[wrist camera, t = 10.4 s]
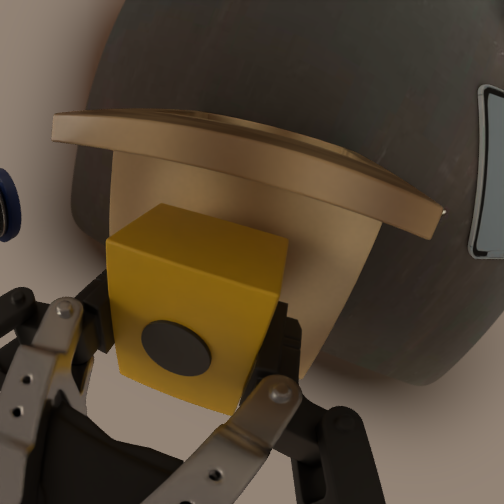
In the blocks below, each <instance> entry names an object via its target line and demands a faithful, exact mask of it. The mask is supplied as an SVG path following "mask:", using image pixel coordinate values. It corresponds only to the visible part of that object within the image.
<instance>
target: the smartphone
mask: <svg viewBox="0 0 504 504" xmlns="http://www.w3.org/2000/svg"><path fill="white" fill-rule="evenodd" d="M478 104H479V167H478V181H477V191H476V199H475V207H474V214H473V220H472V226H471V232H470V237H469V242H468V252H469V254H470V255H471V256H472V257H474V258H475V259H504V90H502V89H499V88H497V87H494V86H491V85H481V86H480V87H479V89H478Z"/></svg>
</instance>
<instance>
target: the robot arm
mask: <svg viewBox="0 0 504 504" xmlns="http://www.w3.org/2000/svg"><path fill="white" fill-rule="evenodd" d="M7 229H8V211H7V205H6V201H5V198H4V195H3V193H2V190H1V188H0V237H1V236H3V235H5V234H6V232H7ZM287 311H288V303H285V302H281V301H278V304H277V306H276V309H275V312H274V314H273V317H272V320H271V322H270V325H269V328H268V330H267V333H266V336H265V338H264V341H263V343H262V346H261V348H260V350H259V352H258V354H257V357H256V359H255V362H254V364H253V367H252V369H251V372H250V374H249V377H248V379H247V382H246V384H245V387H244V389H243V392H242V396H241V400H240V404H239V406H240V407H239V408H238V409H237V410H236V412H235V413H234V414H233V415H232V416H231V417H230V419H229V420H228V421H227V422H226V423H225V424H221V425H220V426H219V427H218V428H216V429H215V430H214V432H213V433H212V434H211V435H210V436H209V437H208V438H207V439H206V440H205V441H204V442H203V444H201V446H200V447H199V448H198V449H197V450H196V451H195V452H194V453H193V454H192V455H191V456H190V457H189V458H188V459H187V460H186V461H185V462H183V460H180V459H177V458H175V457H172V456H169V455H167V454H164V453H161V452H159V451H156V450H154V449H151V448H148V447H143V446H138V445H133V444H129V443H124V442H120V441H116V440H114V439H112V438H111V437H110V436H108V435H107V434H106V433H105V432H104V431H103V430H101V429H100V428H99V427H98V426H97V425H96V424H95V423H94V422H93V421H92V420H91V419H90V418H88V417H87V408H86V395H87V390H88V385H89V381H90V376H91V372H92V367H93V364H94V356H93V355H94V353H95V352H96V351H97V349H98V350H100V351H102V352H104V353H106V354H107V353H108V351H109V350H110V349H111V347H112V346H113V345H114V343H115V340H114V333H113V326H112V318H111V309H110V299H109V292H108V279H107V269H105V270H104V271H103V272H102V274H100V275H99V276H98V277H96V279H95V280H93V281H92V282H91V283H90V284H89V285H87V287H85V288H84V289H83V290H82V291H81V292H80V293H79V294H78V295H77V296H76V297H75V298H72V297H62V298H58V299H56V300H54V301H53V302H52V303H51V304H46V303H42V302H37V301H35V297H34V294H33V292H32V290H30V289H29V288H26V287H18V288H15V289H13V290H11V291H9V292H7V293H6V294H4V295H2V296H1V297H0V338H1V337H3V336H4V335H6V334H7V333H9V332H10V331H12V330H13V329H14V331H15V334H16V336H17V337H16V338H15V339H14V340H12V341H11V342H9V343H8V344H6V345H5V346H3V347H2V348H1V349H0V391H1V392H0V504H233V503H234V502H235V501H236V500H237V498H238V497H239V496H240V495H241V493H242V492H243V490H245V488H246V487H247V486H248V484H249V483H250V482H251V480H252V479H253V478H254V476H255V475H256V474H257V472H258V471H259V469H260V468H261V467H262V465H263V464H264V462H265V461H266V459H267V458H268V456H269V454H270V451H271V450H272V448H273V449H275V450H277V451H278V452H280V453H282V454H284V455H286V456H288V457H290V458H291V463H292V471H293V478H294V486H295V493H296V501H297V504H386V503H385V499H384V495H383V491H382V487H381V483H380V480H379V476H378V472H377V469H376V465H375V462H374V458H373V454H372V451H371V447H370V444H369V441H368V437H367V434H366V431H365V428H364V424H363V421H362V419H361V417H360V416H359V415H358V414H357V413H356V412H355V411H354V410H352V409H350V408H348V407H344V406H336V407H332V408H331V409H329V410H326V409H324V408H322V407H320V406H318V405H316V404H314V403H312V402H311V401H309V400H308V399H307V398H306V397H305V396H304V395H303V394H302V391H301V388H300V387H299V383H298V380H299V368H300V354H301V350H300V349H301V340H302V328H301V326H300V324H299V322H298V319H294V318H290V317H287Z"/></svg>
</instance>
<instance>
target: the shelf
mask: <svg viewBox="0 0 504 504" xmlns="http://www.w3.org/2000/svg"><path fill="white" fill-rule="evenodd" d="M51 140H52V141H53V142H60V143H68V144H75V145H82V146H89V147H96V148H102V149H108V150H114V153H113V164H112V176H111V193H110V236H112V235H113V234H115V233H116V232H118V231H119V230H121V229H122V228H123V227H125V226H126V225H128V224H129V223H131V222H132V221H134V220H135V219H137V218H138V217H140V216H141V215H143V214H144V213H146V212H148V211H149V210H151V209H152V208H154V207H155V206H157V205H158V204H160V203H164V204H168V205H172V206H175V207H179V208H183V209H186V210H190V211H194V212H197V213H201V214H204V215H208V216H212V217H215V218H219V219H222V220H226V221H229V222H233V223H236V224H240V225H243V226H247V227H250V228H253V229H257V230H260V231H264V232H267V233H271V234H274V235H277V236H281V237H284V238H287V239H289V244H288V250H287V257H286V263H285V270H284V276H283V282H282V288H281V294H280V298H279V301H281V302H285V303H288V311H287V317H290V318H294V319H298V322H299V324H300V326H301V328H302V340H301V349H300V350H301V354H300V368H299V379H303V377H304V376H305V374H306V373H307V371H308V369H309V368H310V366H311V364H312V363H313V361H314V359H315V358H316V356H317V354H318V353H319V351H320V349H321V347H322V346H323V344H324V342H325V340H326V339H327V337H328V335H329V333H330V331H331V330H332V328H333V326H334V324H335V322H336V320H337V319H338V317H339V315H340V313H341V311H342V309H343V307H344V305H345V303H346V301H347V299H348V297H349V295H350V293H351V291H352V289H353V287H354V285H355V283H356V281H357V279H358V277H359V275H360V273H361V271H362V268H363V266H364V264H365V262H366V260H367V258H368V255H369V253H370V251H371V249H372V246H373V244H374V242H375V239H376V237H377V235H378V232H379V230H380V227H381V225H382V223H386V224H388V225H391V226H394V227H396V228H399V229H402V230H404V231H407V232H409V233H412V234H414V235H417V236H419V237H422V238H424V239H427V240H430V239H431V238H432V236H433V234H434V231H435V229H436V227H437V224H438V222H439V220H440V217H441V215H442V212H443V207H442V206H441V205H439V204H438V203H436V202H435V201H434V200H432V199H431V198H429V197H428V196H427V195H425V194H424V193H422V192H421V191H419V190H418V189H416V188H415V187H413V186H412V185H410V184H409V183H407V182H405V181H404V180H402V179H401V178H399V177H398V176H396V175H394V174H393V173H391V172H390V171H388V170H386V169H385V168H383V167H381V166H380V165H378V164H376V163H374V162H373V161H371V160H369V159H367V158H366V157H364V156H362V155H360V154H358V153H356V152H354V151H352V150H349V149H346V148H343V147H340V146H337V145H334V144H331V143H328V142H325V141H322V140H319V139H316V138H312V137H309V136H306V135H302V134H299V133H295V132H292V131H288V130H284V129H281V128H277V127H273V126H269V125H265V124H261V123H257V122H252V121H248V120H243V119H239V118H234V117H229V116H224V115H219V114H213V113H208V112H202V111H192V110H176V109H142V108H132V109H99V110H83V111H72V112H62V113H56V114H54V115H53V123H52V136H51Z"/></svg>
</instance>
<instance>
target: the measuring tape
mask: <svg viewBox="0 0 504 504" xmlns="http://www.w3.org/2000/svg"><path fill="white" fill-rule="evenodd" d="M288 244H289V239H287V238H284V237H281V236H277V235H274V234H271V233H267V232H264V231H260V230H257V229H253V228H250V227H247V226H243V225H240V224H236V223H233V222H229V221H226V220H222V219H219V218H215V217H212V216H208V215H204V214H201V213H197V212H194V211H190V210H186V209H183V208H179V207H175V206H172V205H168V204H164V203H160V204H158V205H157V206H155V207H154V208H152V209H151V210H149V211H148V212H146V213H144V214H143V215H141V216H140V217H138V218H137V219H135V220H134V221H132V222H131V223H129V224H128V225H126V226H125V227H123V228H122V229H121V230H119V231H118V232H116V233H115V234H113V235H112V236H110V237H109V238H108V239H107V240H106V261H107V279H108V292H109V299H110V309H111V318H112V326H113V333H114V340H115V348H116V354H117V359H118V365H119V370H120V373H121V374H122V375H124V376H126V377H128V378H131V379H133V380H135V381H137V382H139V383H141V384H144V385H146V386H148V387H151V388H153V389H156V390H158V391H160V392H163V393H165V394H168V395H170V396H173V397H176V398H178V399H181V400H184V401H186V402H189V403H192V404H195V405H198V406H201V407H204V408H207V409H210V410H213V411H217V412H220V413H223V414H226V415H230V416H232V415H233V414H234V412H235V410H236V408H237V405H238V403H239V400H240V398H241V396H242V392H243V389H244V387H245V384H246V382H247V379H248V377H249V374H250V372H251V369H252V367H253V364H254V362H255V359H256V357H257V354H258V352H259V350H260V348H261V346H262V343H263V341H264V338H265V336H266V333H267V330H268V328H269V325H270V322H271V320H272V317H273V314H274V312H275V309H276V306H277V304H278V301H279V298H280V294H281V288H282V282H283V276H284V270H285V263H286V257H287V250H288Z"/></svg>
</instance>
